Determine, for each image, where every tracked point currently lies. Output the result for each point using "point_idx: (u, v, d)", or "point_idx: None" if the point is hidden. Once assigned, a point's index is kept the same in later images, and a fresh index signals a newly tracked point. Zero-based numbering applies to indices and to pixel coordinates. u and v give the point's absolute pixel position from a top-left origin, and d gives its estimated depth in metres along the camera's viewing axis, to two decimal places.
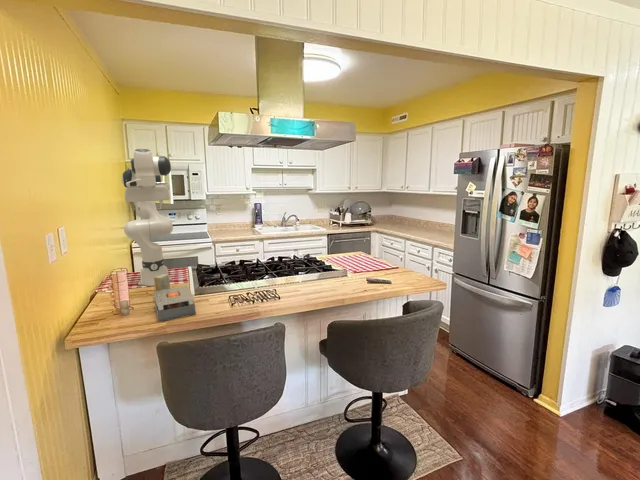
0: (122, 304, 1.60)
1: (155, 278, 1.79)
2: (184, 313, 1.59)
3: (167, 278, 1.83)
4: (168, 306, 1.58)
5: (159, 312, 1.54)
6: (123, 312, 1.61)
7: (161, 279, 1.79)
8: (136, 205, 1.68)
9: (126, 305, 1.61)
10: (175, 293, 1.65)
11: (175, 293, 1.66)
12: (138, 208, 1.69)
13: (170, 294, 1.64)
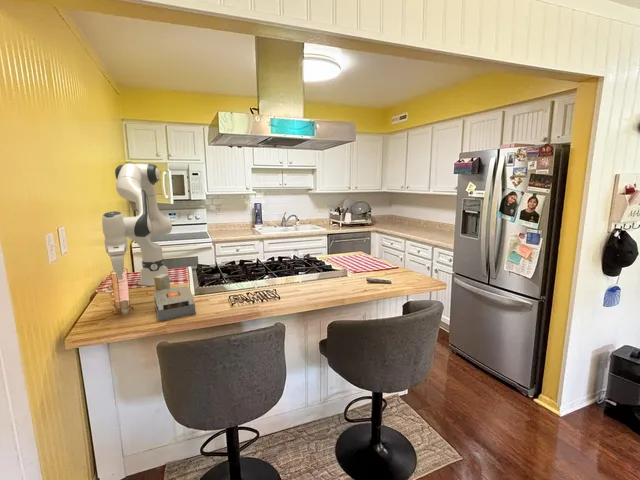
0: (122, 304, 1.60)
1: (155, 278, 1.79)
2: (184, 313, 1.59)
3: (167, 278, 1.83)
4: (168, 306, 1.58)
5: (159, 312, 1.54)
6: (123, 312, 1.61)
7: (161, 279, 1.79)
8: (122, 273, 1.54)
9: (126, 305, 1.61)
10: (175, 293, 1.65)
11: (175, 293, 1.66)
12: (122, 276, 1.55)
13: (170, 294, 1.64)
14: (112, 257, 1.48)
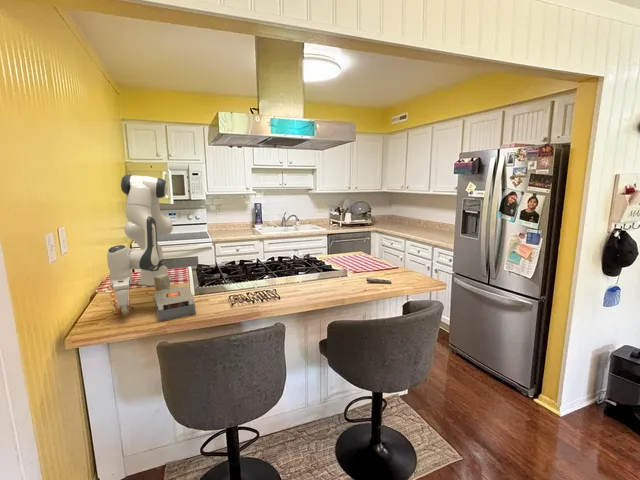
0: None
1: (155, 278, 1.79)
2: (184, 313, 1.59)
3: (167, 278, 1.83)
4: (168, 306, 1.58)
5: (159, 312, 1.54)
6: (123, 312, 1.61)
7: (161, 279, 1.79)
8: None
9: None
10: (175, 293, 1.65)
11: (175, 293, 1.66)
12: (126, 307, 1.60)
13: (170, 294, 1.64)
14: (117, 292, 1.51)
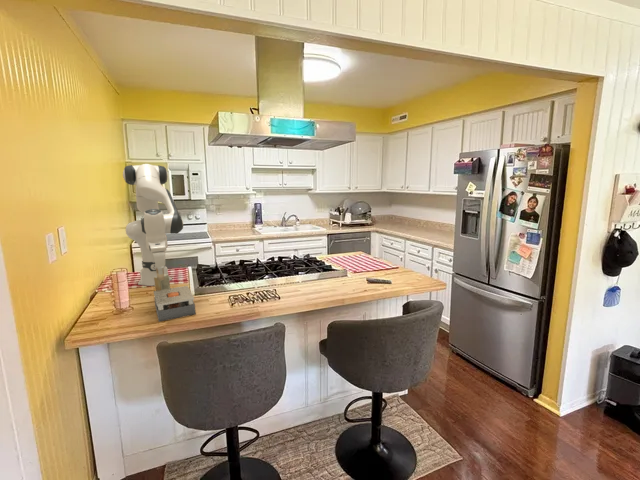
0: None
1: (155, 278, 1.79)
2: (184, 313, 1.59)
3: (167, 278, 1.83)
4: (168, 306, 1.58)
5: (159, 312, 1.54)
6: (158, 276, 1.60)
7: None
8: None
9: None
10: (175, 293, 1.65)
11: (175, 293, 1.66)
12: (162, 271, 1.60)
13: (170, 294, 1.64)
14: (154, 254, 1.51)
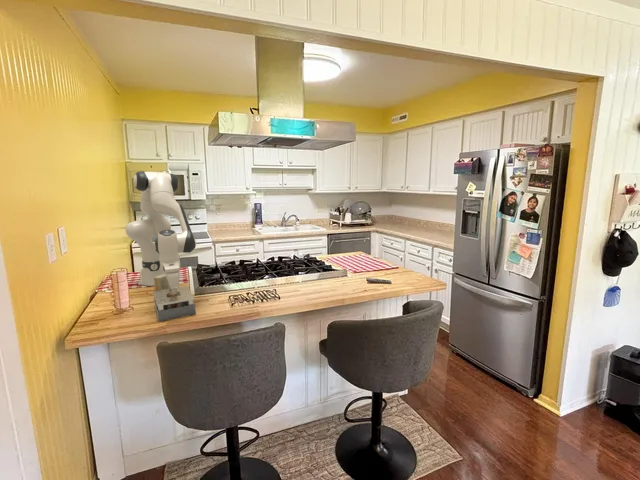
0: None
1: (155, 278, 1.79)
2: (184, 313, 1.59)
3: None
4: (168, 306, 1.58)
5: (159, 312, 1.54)
6: (171, 295, 1.64)
7: (161, 279, 1.79)
8: (175, 287, 1.62)
9: None
10: None
11: None
12: None
13: None
14: (168, 274, 1.54)
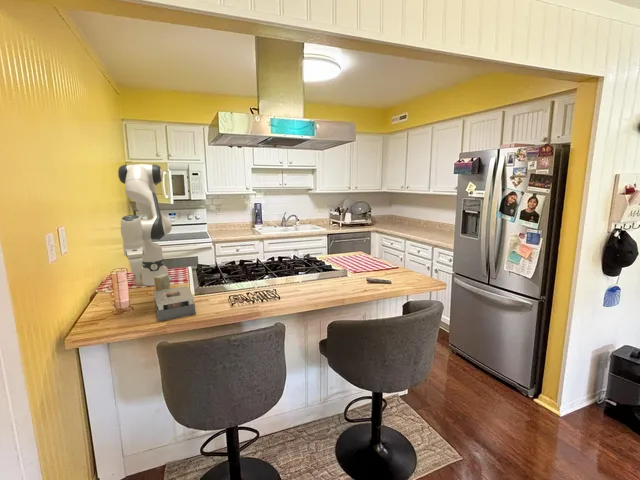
0: None
1: (155, 278, 1.79)
2: (184, 313, 1.59)
3: (167, 278, 1.83)
4: (168, 306, 1.58)
5: (159, 312, 1.54)
6: (136, 282, 1.60)
7: (161, 279, 1.79)
8: None
9: None
10: None
11: None
12: None
13: None
14: (131, 260, 1.51)
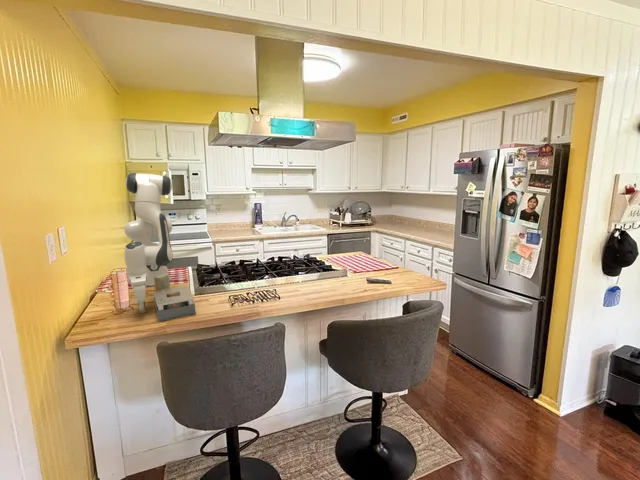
0: None
1: (155, 278, 1.79)
2: (184, 313, 1.59)
3: (167, 278, 1.83)
4: (168, 306, 1.58)
5: (159, 312, 1.54)
6: (140, 310, 1.63)
7: (161, 279, 1.79)
8: None
9: None
10: None
11: None
12: (143, 304, 1.60)
13: None
14: (134, 287, 1.54)
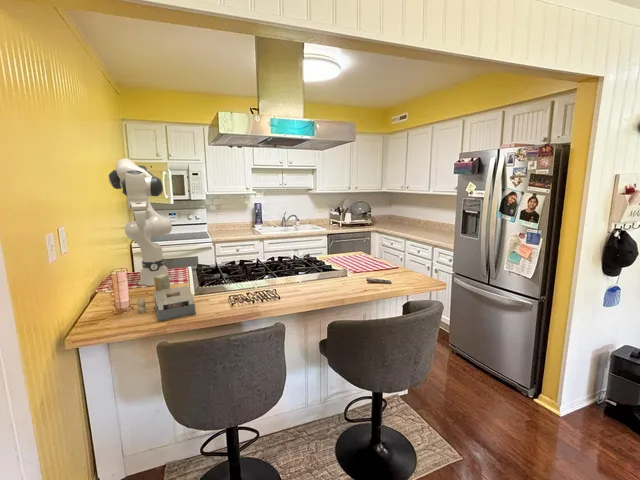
0: (139, 302, 1.63)
1: (155, 278, 1.79)
2: (184, 313, 1.59)
3: (167, 278, 1.83)
4: (168, 306, 1.58)
5: (159, 312, 1.54)
6: (140, 310, 1.63)
7: (161, 279, 1.79)
8: (143, 228, 1.63)
9: (143, 303, 1.63)
10: None
11: None
12: (143, 231, 1.64)
13: None
14: (135, 212, 1.57)
